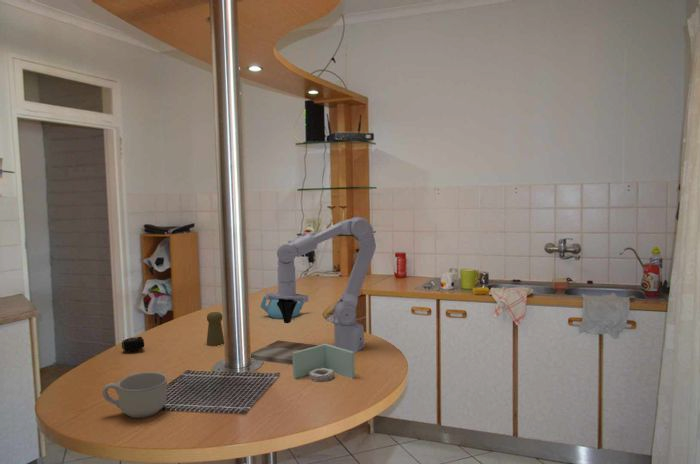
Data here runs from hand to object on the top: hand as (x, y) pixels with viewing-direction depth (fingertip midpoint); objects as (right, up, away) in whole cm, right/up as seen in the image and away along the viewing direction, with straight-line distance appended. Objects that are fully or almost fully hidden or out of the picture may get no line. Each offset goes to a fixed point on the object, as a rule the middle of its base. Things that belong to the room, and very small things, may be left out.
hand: (287, 322), depth 167 cm
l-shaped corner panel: (+13, -11, -26) cm, 31 cm away
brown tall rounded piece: (-26, -9, +10) cm, 30 cm away
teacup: (-29, -13, -47) cm, 57 cm away
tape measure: (-48, -10, +3) cm, 49 cm away
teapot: (-8, -7, +53) cm, 54 cm away
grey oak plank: (-1, -10, -7) cm, 12 cm away
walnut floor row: (+3, -9, +1) cm, 10 cm away
